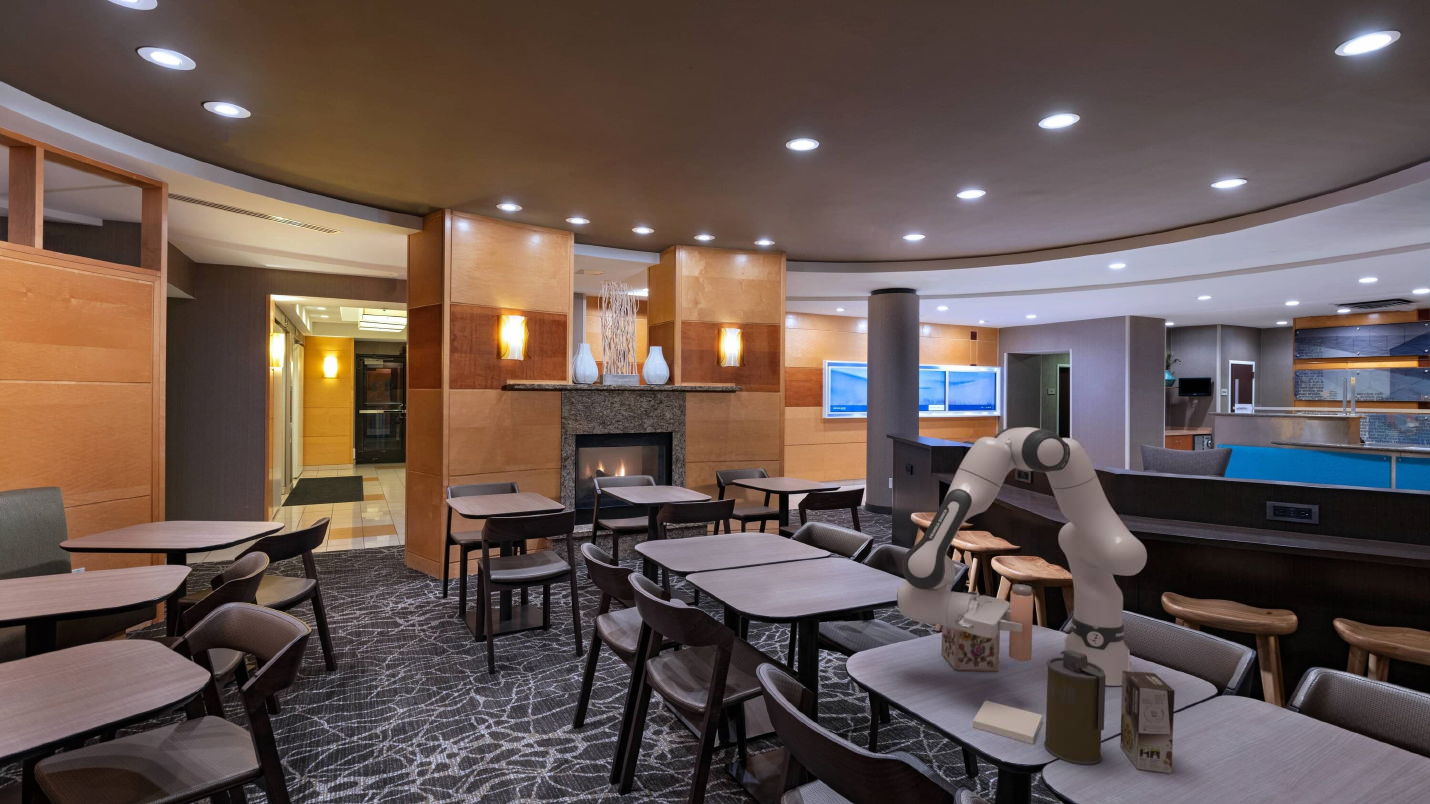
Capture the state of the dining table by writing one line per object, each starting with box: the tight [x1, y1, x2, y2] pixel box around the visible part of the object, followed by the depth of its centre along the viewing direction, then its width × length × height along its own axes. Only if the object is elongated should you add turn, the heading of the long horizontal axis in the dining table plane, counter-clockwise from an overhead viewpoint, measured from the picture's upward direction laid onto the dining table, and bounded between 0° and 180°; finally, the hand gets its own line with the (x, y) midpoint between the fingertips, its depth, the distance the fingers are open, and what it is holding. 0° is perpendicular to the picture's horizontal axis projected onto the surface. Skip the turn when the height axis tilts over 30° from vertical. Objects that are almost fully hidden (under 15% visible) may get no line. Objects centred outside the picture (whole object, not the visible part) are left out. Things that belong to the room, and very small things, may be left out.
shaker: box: [1008, 583, 1034, 662], centre depth 160 cm, size 5×5×17 cm
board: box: [972, 700, 1043, 745], centre depth 150 cm, size 12×12×2 cm
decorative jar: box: [941, 625, 1001, 673], centre depth 184 cm, size 12×12×18 cm
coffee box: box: [1119, 671, 1176, 774], centre depth 137 cm, size 9×6×16 cm
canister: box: [1043, 650, 1106, 766], centre depth 139 cm, size 11×10×20 cm
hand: (1025, 623), depth 159 cm, fingers closed on shaker, 5 cm apart
